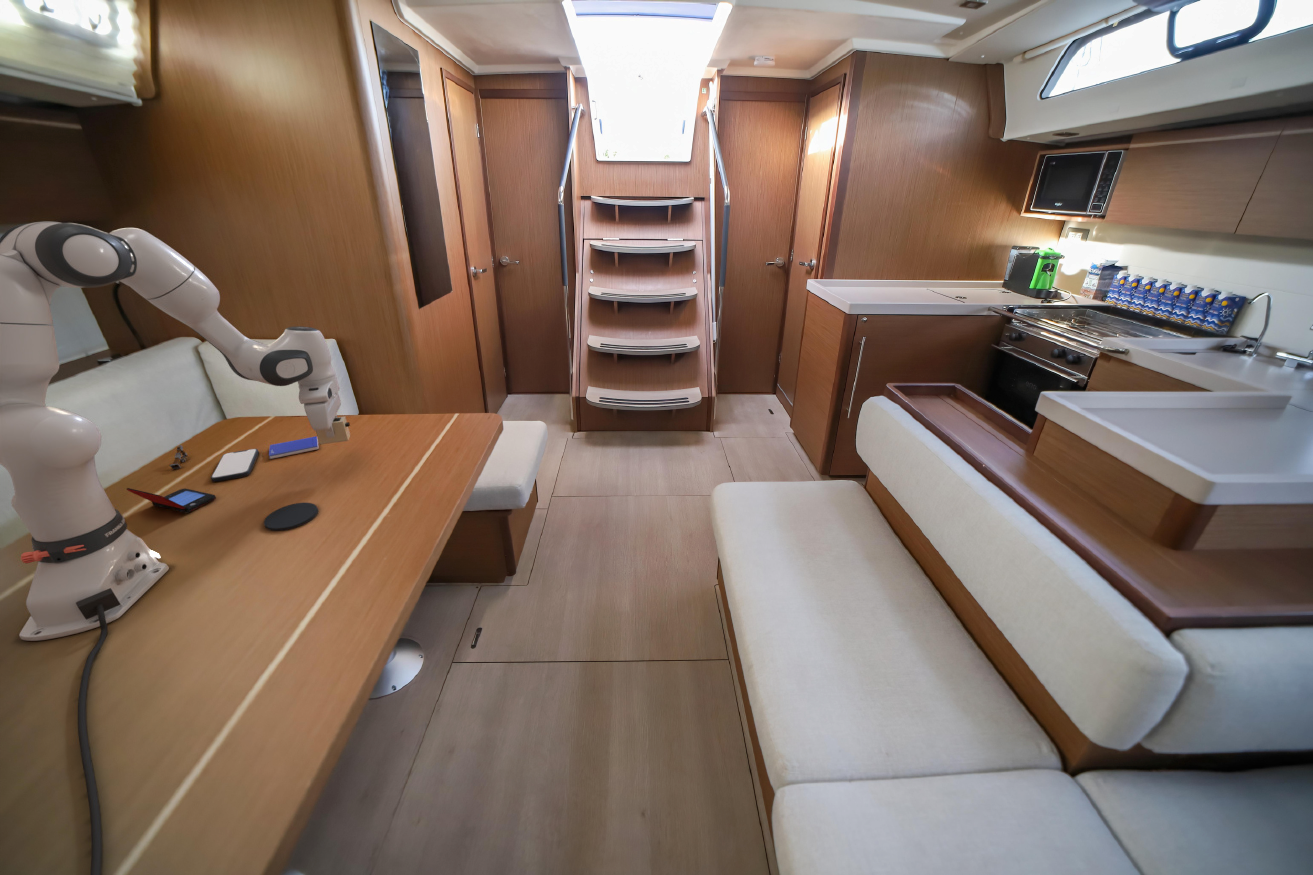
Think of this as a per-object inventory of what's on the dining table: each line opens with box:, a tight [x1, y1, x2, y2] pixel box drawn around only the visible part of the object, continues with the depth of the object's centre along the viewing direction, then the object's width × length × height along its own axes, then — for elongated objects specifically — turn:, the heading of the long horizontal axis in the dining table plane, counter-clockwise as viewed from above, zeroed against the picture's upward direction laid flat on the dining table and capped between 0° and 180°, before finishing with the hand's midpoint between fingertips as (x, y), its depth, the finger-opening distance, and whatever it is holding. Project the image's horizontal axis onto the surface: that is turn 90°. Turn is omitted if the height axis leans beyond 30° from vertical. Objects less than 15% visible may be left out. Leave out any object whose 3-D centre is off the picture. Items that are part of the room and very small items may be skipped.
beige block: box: [315, 416, 351, 446], centre depth 140 cm, size 4×8×6 cm, turn 111°
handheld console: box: [126, 487, 217, 514], centre depth 126 cm, size 12×11×7 cm
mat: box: [263, 502, 319, 532], centre depth 123 cm, size 11×11×1 cm
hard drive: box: [268, 435, 319, 460], centre depth 155 cm, size 2×8×12 cm
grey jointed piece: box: [169, 444, 189, 470], centre depth 147 cm, size 2×8×4 cm, turn 22°
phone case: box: [210, 448, 260, 483], centre depth 145 cm, size 9×2×16 cm
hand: (333, 432), depth 141 cm, fingers closed on beige block, 4 cm apart
